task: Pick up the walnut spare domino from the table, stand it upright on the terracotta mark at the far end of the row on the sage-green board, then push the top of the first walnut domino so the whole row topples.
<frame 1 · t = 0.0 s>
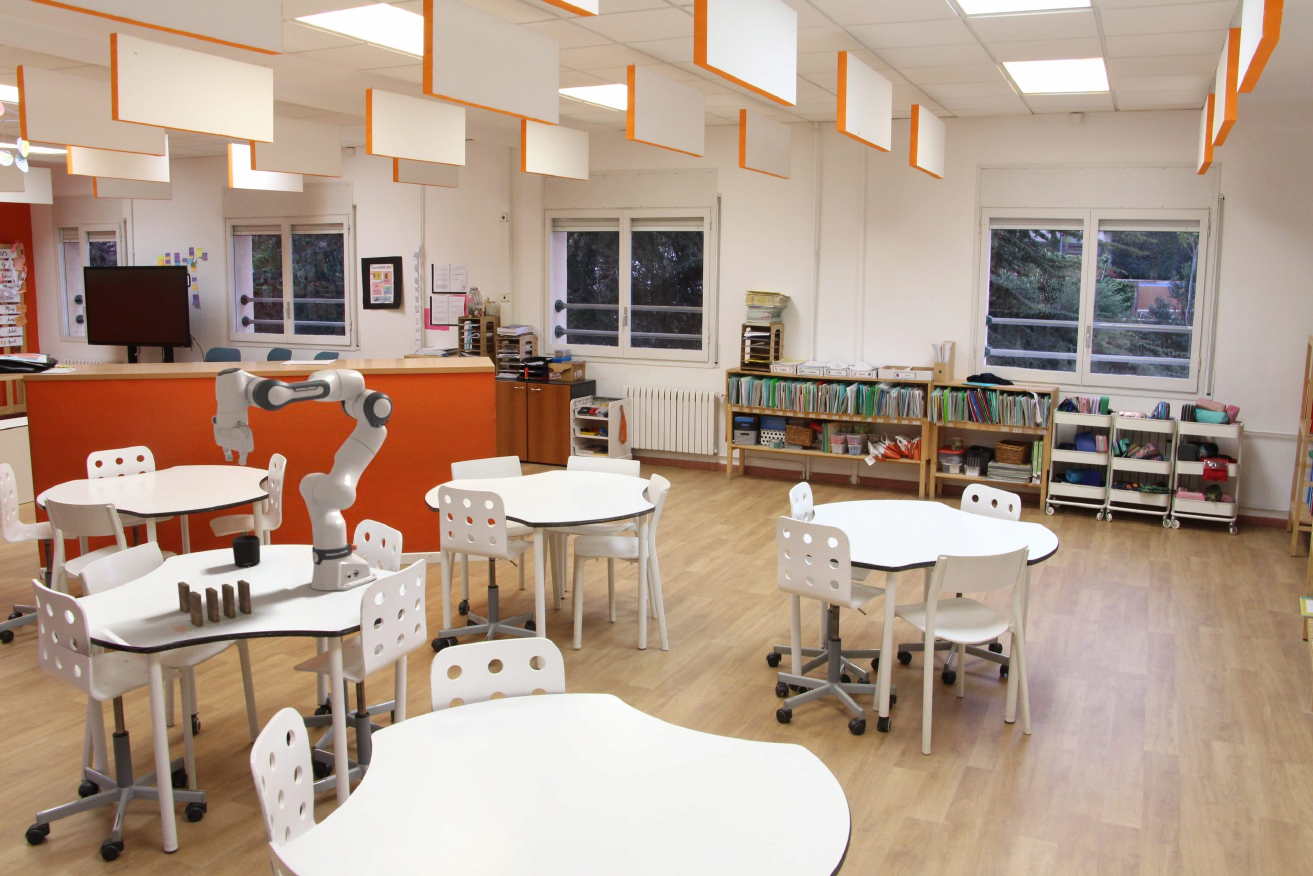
hand: (235, 462, 308), 48 cm above the table, tool pointing down, fingers open, 8 cm apart
domino 1: (245, 612, 308), point 1 cm above the table, touching domino board
end domino: (186, 613, 309), on the table
domino board: (215, 623, 302), on the table
domino 4: (197, 624, 297), point 1 cm above the table, touching domino board
domino 3: (213, 620, 301), point 1 cm above the table, touching domino board
domino 2: (229, 616, 305), point 1 cm above the table, touching domino board
pen holder: (247, 564, 361), on the table
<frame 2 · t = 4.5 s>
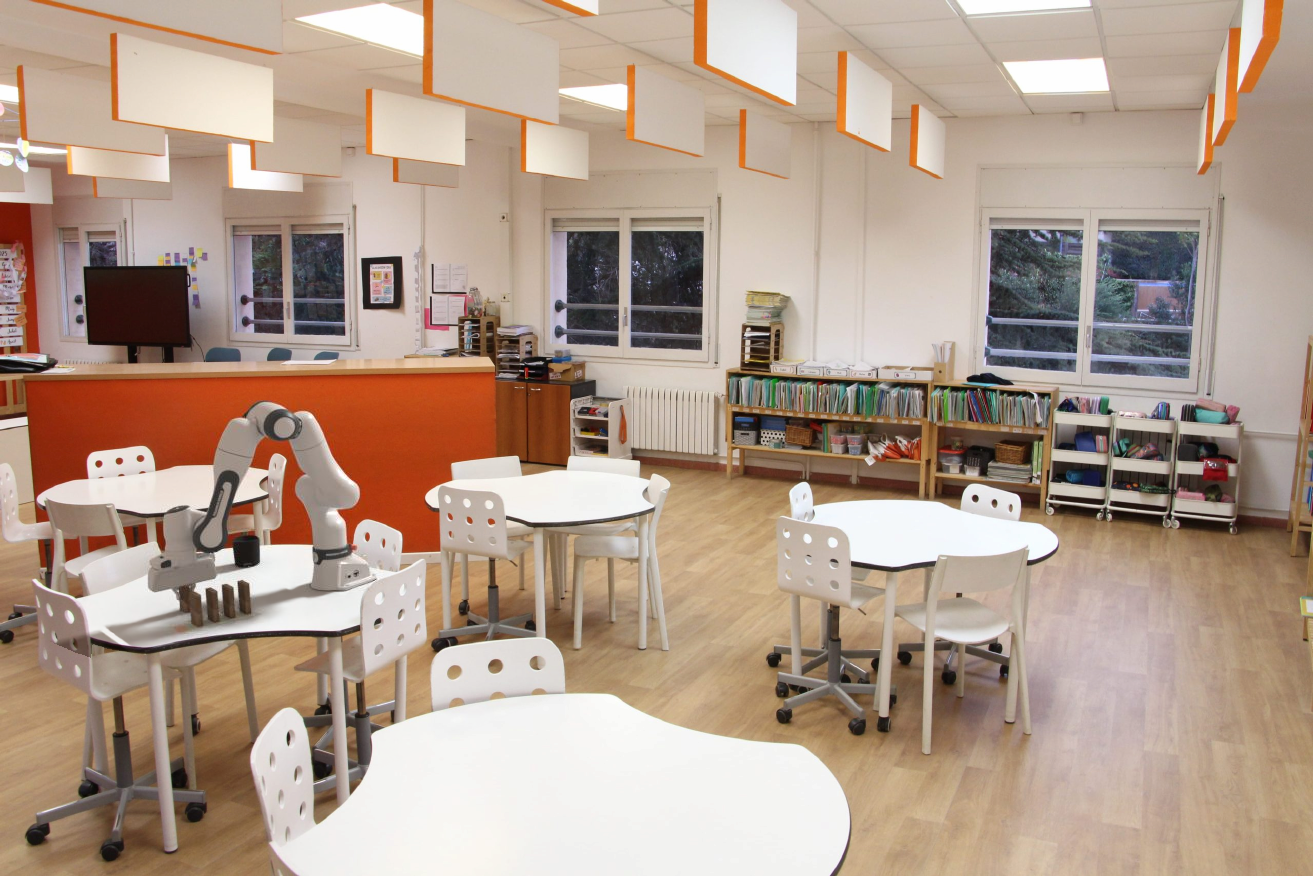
hand: (184, 598, 309), 5 cm above the table, tool pointing down, fingers closed on end domino, 2 cm apart
end domino: (186, 613, 309), on the table, touching gripper
everything else where it was.
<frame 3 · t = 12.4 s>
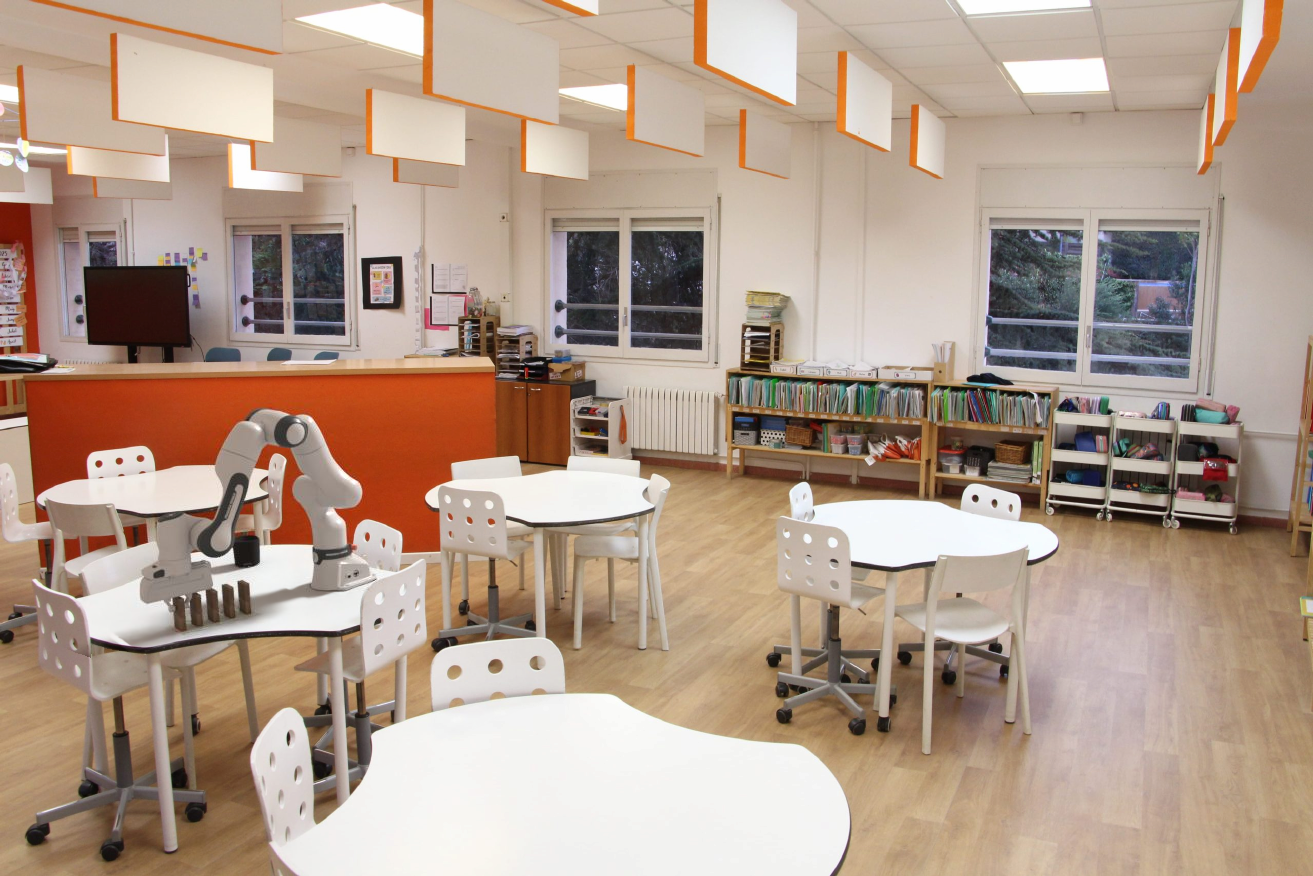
hand: (179, 609, 293), 7 cm above the table, tool pointing down, fingers closed
end domino: (180, 628, 294), point 1 cm above the table, touching domino board
everything else where it was.
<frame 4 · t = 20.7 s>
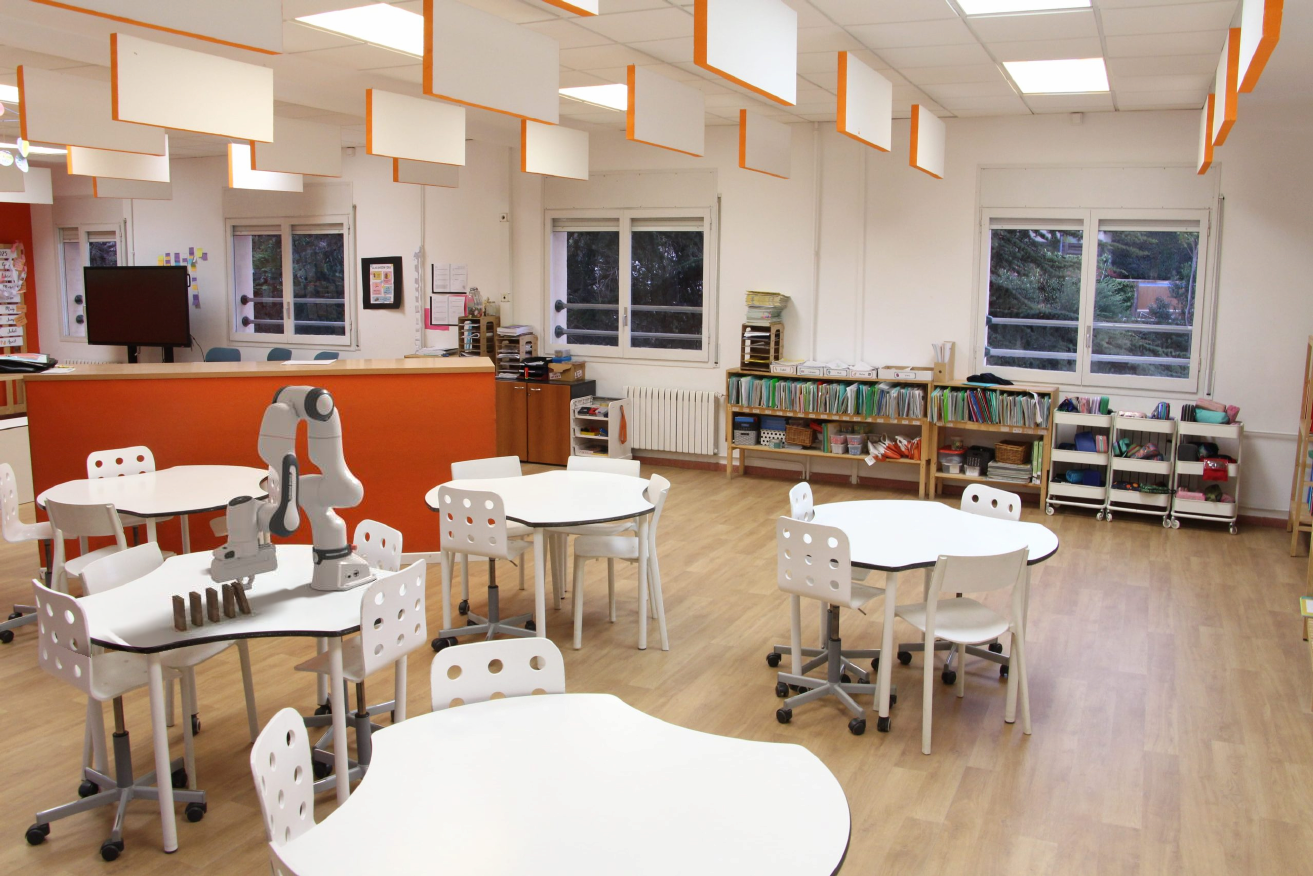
hand: (246, 589, 308), 8 cm above the table, tool pointing down, fingers closed
domino 1: (245, 611, 308), point 1 cm above the table, tilted 13°, touching domino board
everything else where it was.
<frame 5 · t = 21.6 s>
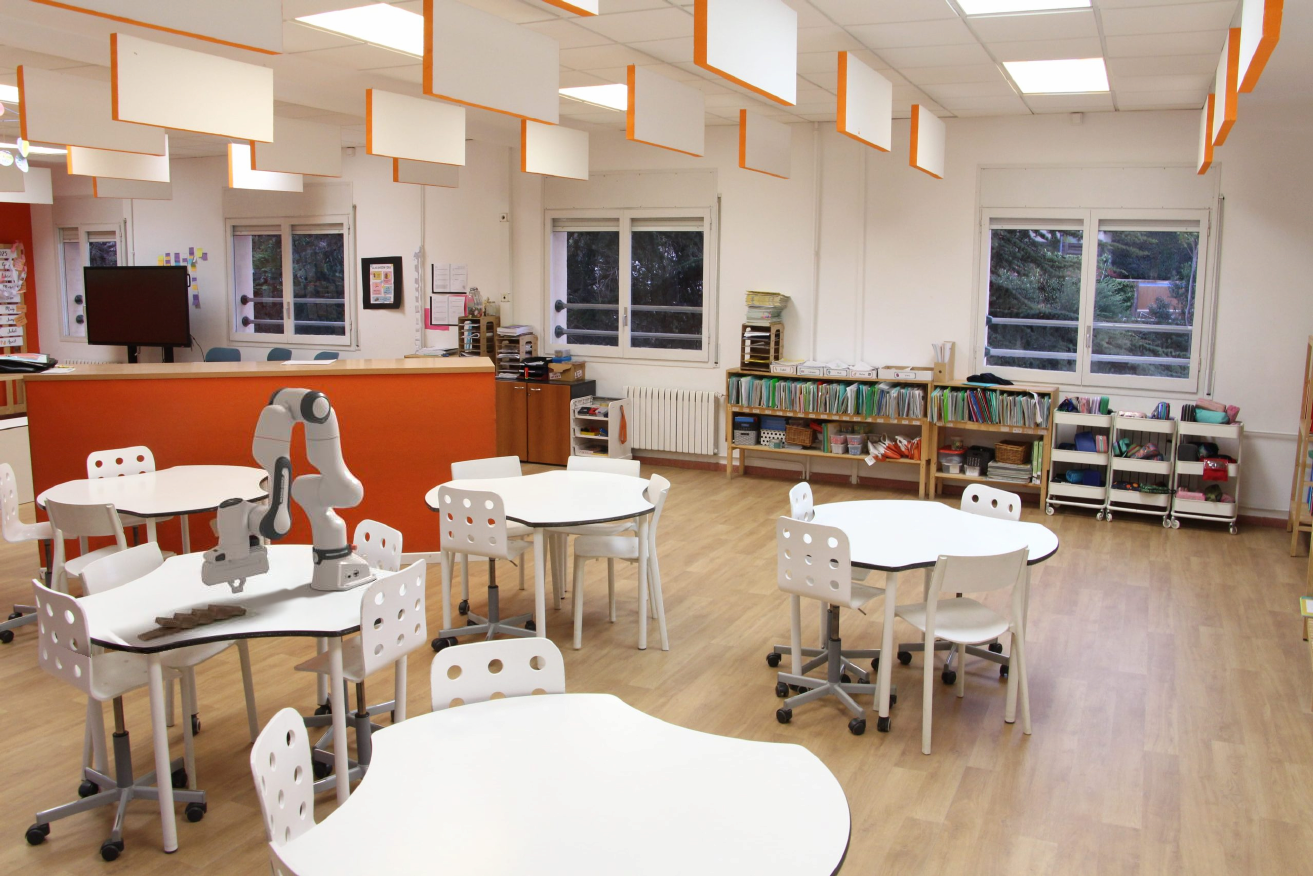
hand: (237, 592, 306), 8 cm above the table, tool pointing down, fingers closed
domino 1: (242, 610, 308), point 2 cm above the table, tilted 72°, touching domino 2
end domino: (175, 627, 293), point 2 cm above the table, tilted 96°, touching domino 4, domino board
domino 4: (192, 623, 296), point 2 cm above the table, tilted 71°, touching domino 3, end domino
domino 3: (209, 619, 300), point 2 cm above the table, tilted 71°, touching domino 2, domino 4, domino board
domino 2: (226, 614, 304), point 2 cm above the table, tilted 72°, touching domino 1, domino 3, domino board
everything else where it was.
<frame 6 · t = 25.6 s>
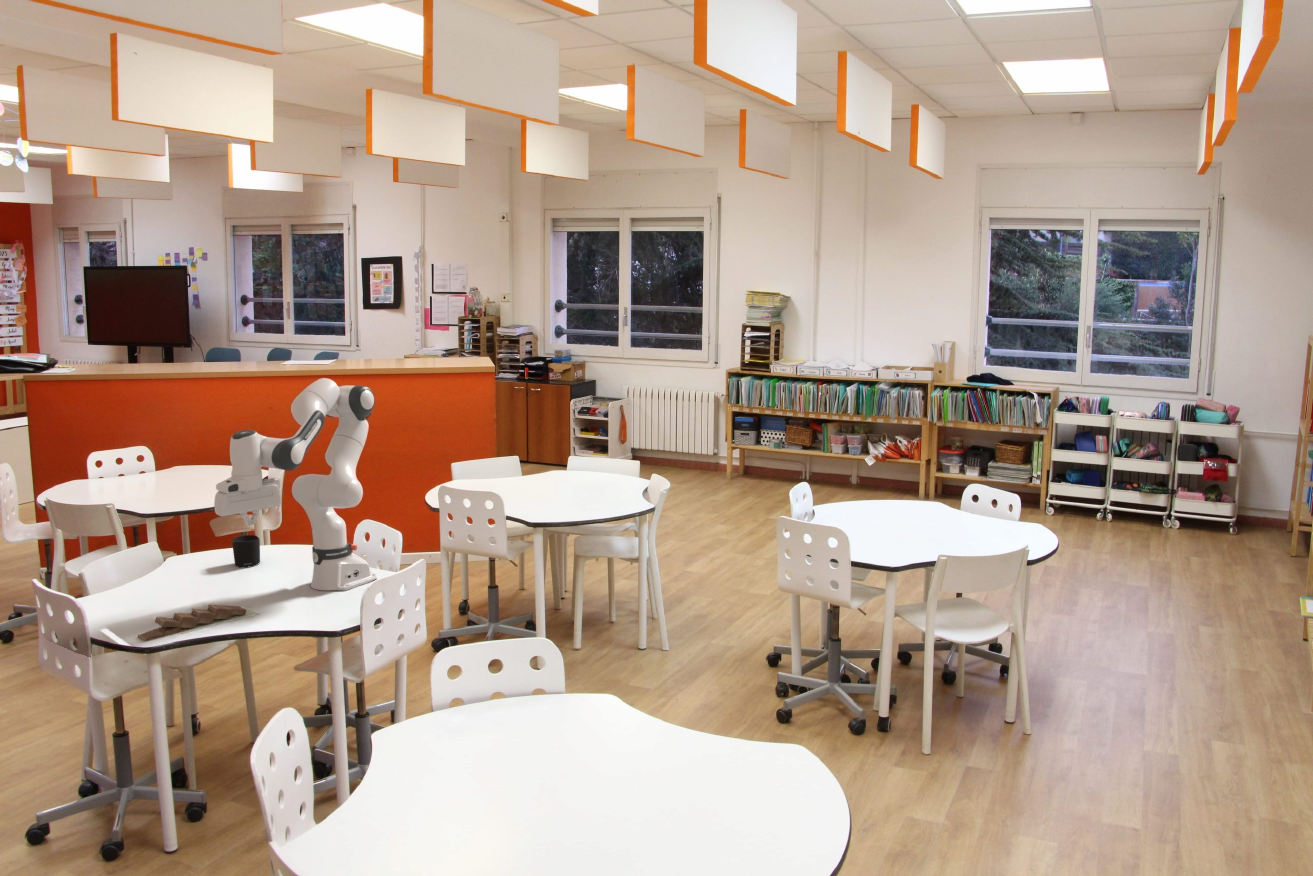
hand: (250, 524, 306), 29 cm above the table, tool pointing down, fingers closed
nothing on the table moved.
at the end: end domino tilted 96°; domino 3 tilted 71°; the gripper is holding nothing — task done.
